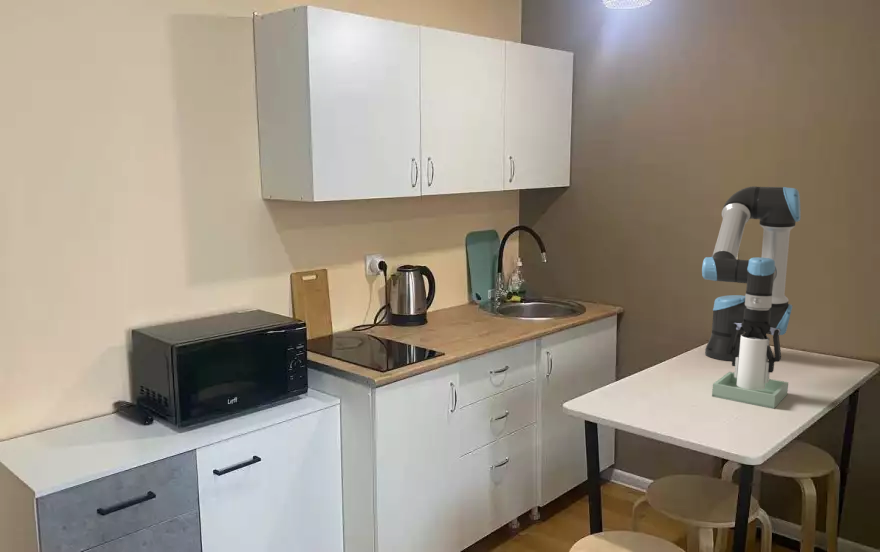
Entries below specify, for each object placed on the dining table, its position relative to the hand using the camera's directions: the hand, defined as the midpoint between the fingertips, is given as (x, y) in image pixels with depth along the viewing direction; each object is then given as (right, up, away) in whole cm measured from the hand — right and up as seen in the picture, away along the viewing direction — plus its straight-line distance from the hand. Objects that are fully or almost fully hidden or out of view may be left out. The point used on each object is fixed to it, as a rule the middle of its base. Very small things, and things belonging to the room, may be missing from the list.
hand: (751, 379), depth 226 cm
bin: (0, -5, +1) cm, 5 cm away
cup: (0, -2, 0) cm, 2 cm away
